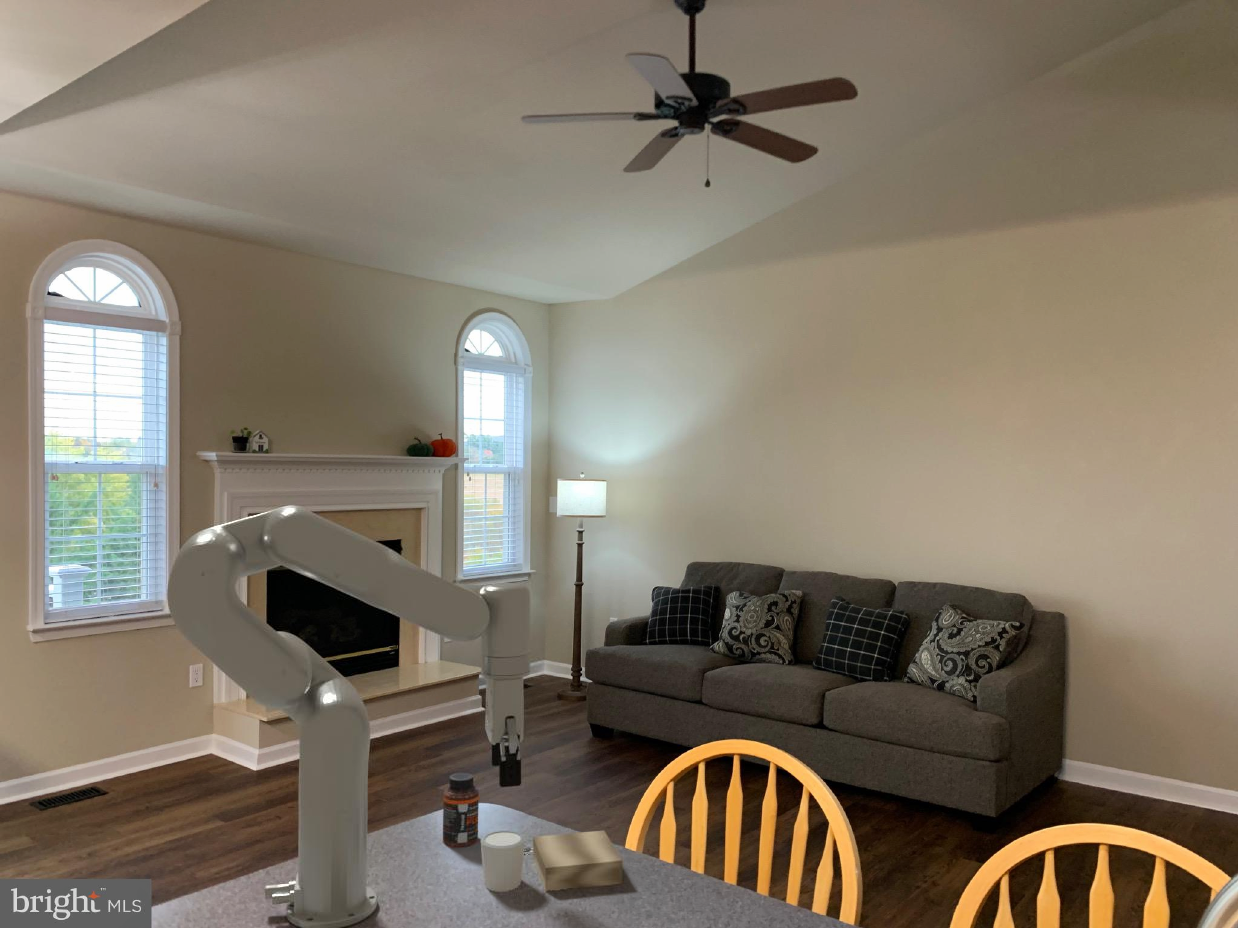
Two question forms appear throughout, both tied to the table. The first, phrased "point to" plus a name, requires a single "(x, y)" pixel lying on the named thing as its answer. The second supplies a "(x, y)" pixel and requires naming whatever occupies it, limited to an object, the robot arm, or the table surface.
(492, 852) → the light grey cup
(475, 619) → the robot arm
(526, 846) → the push button plate
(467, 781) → the supplement bottle
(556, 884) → the maple block
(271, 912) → the table surface
